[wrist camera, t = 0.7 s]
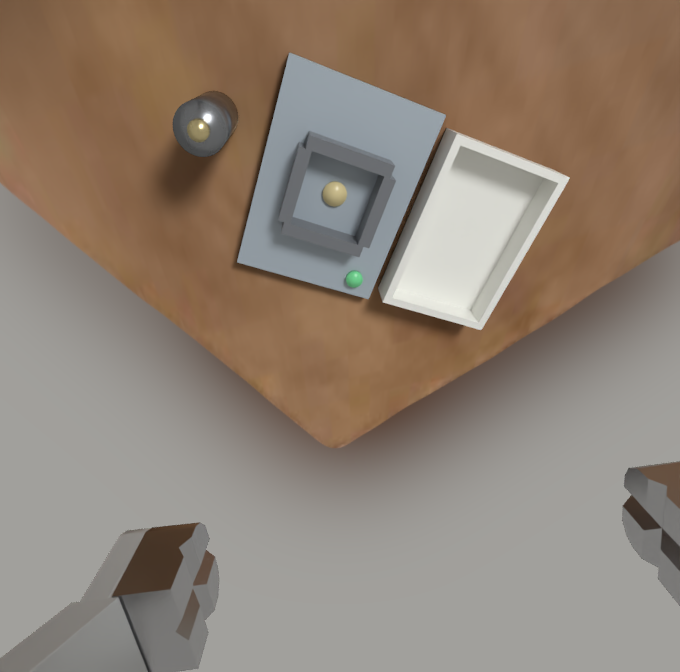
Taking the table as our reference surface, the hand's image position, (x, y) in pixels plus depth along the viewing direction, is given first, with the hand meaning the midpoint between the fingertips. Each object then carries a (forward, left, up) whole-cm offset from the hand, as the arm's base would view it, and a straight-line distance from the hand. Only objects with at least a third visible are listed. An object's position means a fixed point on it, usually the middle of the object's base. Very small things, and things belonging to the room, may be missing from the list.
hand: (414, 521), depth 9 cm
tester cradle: (+4, +3, -42) cm, 42 cm away
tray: (+4, +17, -42) cm, 46 cm away
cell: (+1, -10, -42) cm, 43 cm away
